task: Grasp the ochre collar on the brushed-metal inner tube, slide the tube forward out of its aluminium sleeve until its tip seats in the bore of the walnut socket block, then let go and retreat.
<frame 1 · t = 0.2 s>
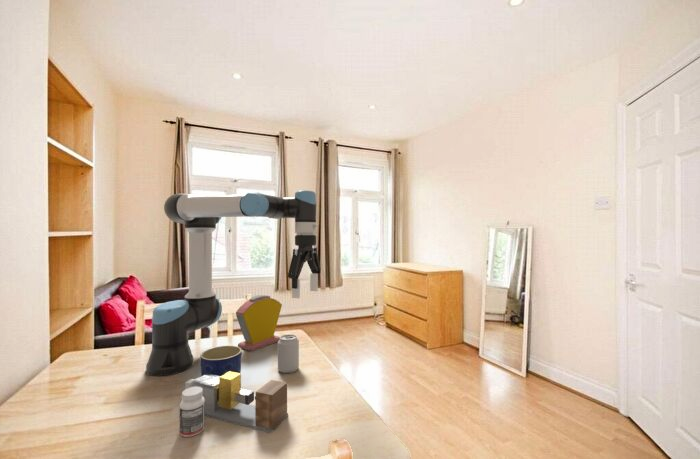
hand: (305, 294, 112), 28 cm above the table, fingers open, 13 cm apart
planter: (221, 386, 102), on the table
board: (237, 413, 87), on the table
can: (288, 370, 114), on the table
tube: (218, 387, 89), point 6 cm above the table, slide at 0.0 cm
socket: (271, 421, 83), resting on board
yellow fan-shaped sign: (259, 344, 141), on the table
pill bottle: (192, 431, 79), on the table
sleeve: (210, 406, 90), resting on board
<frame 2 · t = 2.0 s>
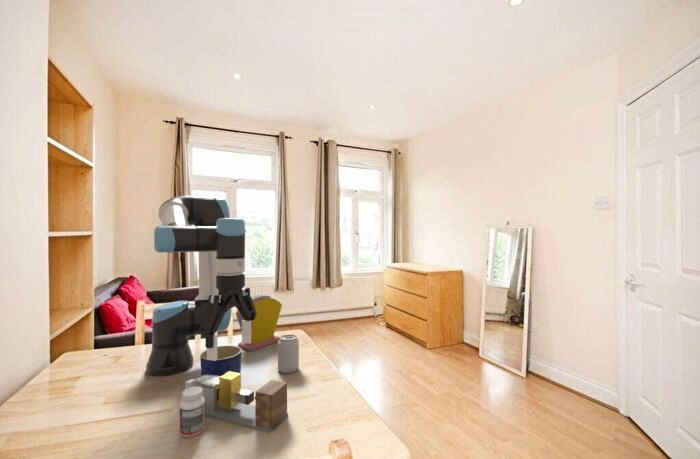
hand: (230, 350, 87), 17 cm above the table, fingers open, 13 cm apart
nothing on the table moved.
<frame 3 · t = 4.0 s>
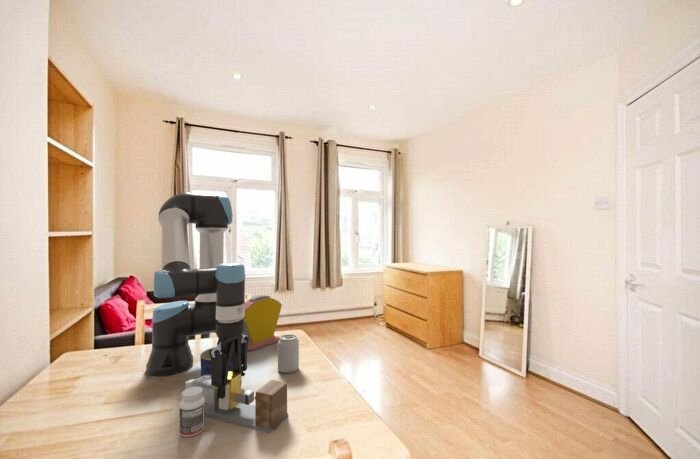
hand: (230, 403, 87), 2 cm above the table, fingers closed on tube, 4 cm apart
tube: (218, 387, 89), point 6 cm above the table, slide at 0.0 cm, touching gripper
everything else where it was.
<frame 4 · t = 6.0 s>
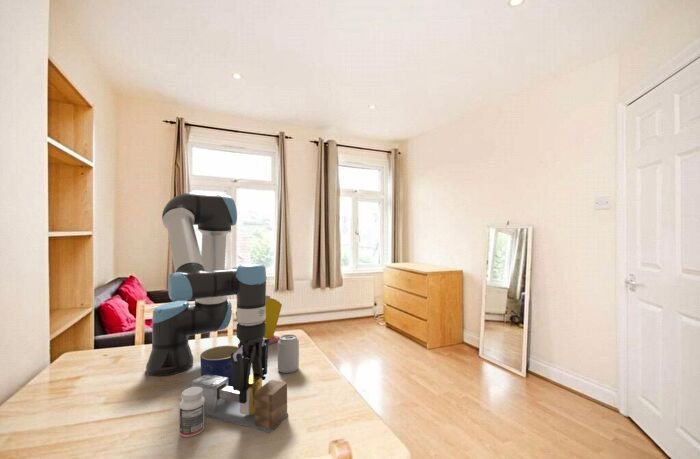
hand: (250, 408, 85), 2 cm above the table, fingers closed on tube, 4 cm apart
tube: (238, 391, 86), point 6 cm above the table, slide at 7.0 cm, touching gripper
everything else where it was.
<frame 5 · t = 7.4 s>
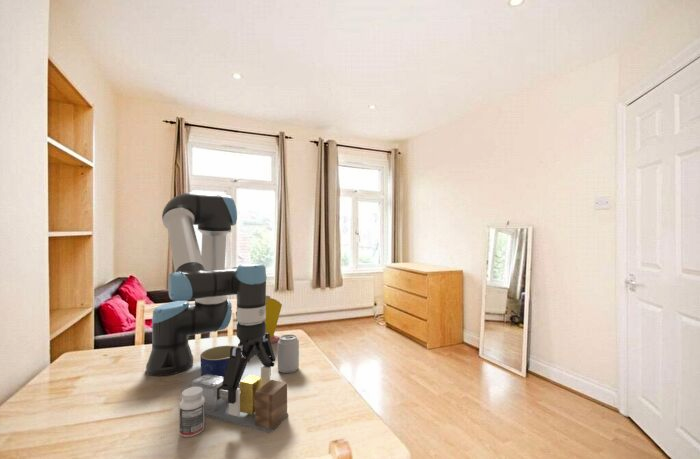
hand: (251, 401, 85), 4 cm above the table, fingers open, 12 cm apart
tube: (238, 391, 86), point 6 cm above the table, slide at 7.0 cm
everything else where it was.
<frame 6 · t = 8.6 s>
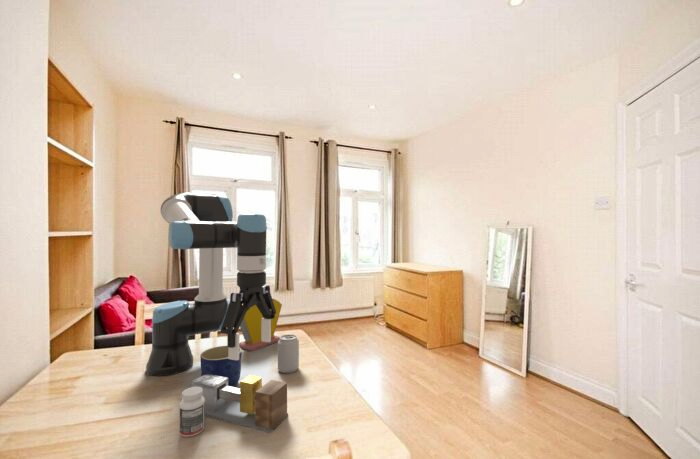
hand: (251, 349, 85), 18 cm above the table, fingers open, 13 cm apart
nothing on the table moved.
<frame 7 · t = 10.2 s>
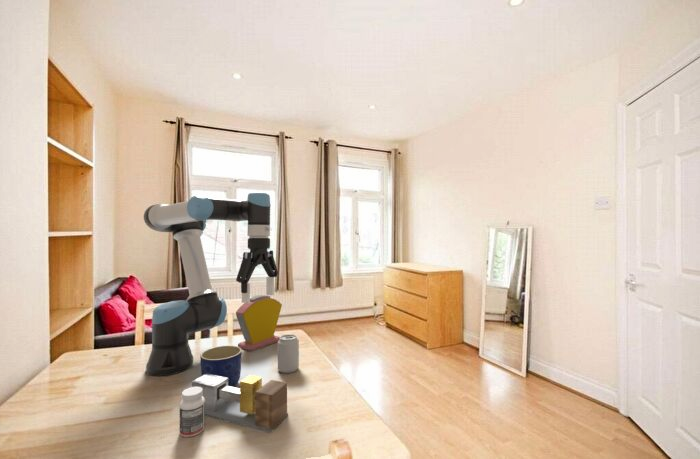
hand: (258, 298, 109), 27 cm above the table, fingers open, 13 cm apart
nothing on the table moved.
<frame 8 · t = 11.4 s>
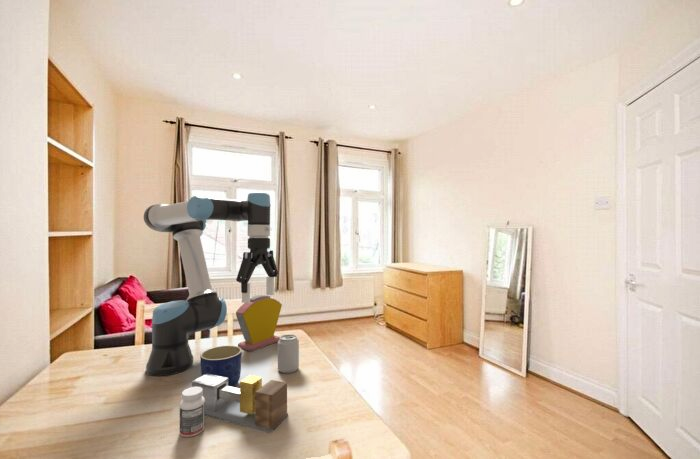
hand: (258, 298, 109), 27 cm above the table, fingers open, 13 cm apart
nothing on the table moved.
at the end: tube slide at 7.0 cm; the gripper is holding nothing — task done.
